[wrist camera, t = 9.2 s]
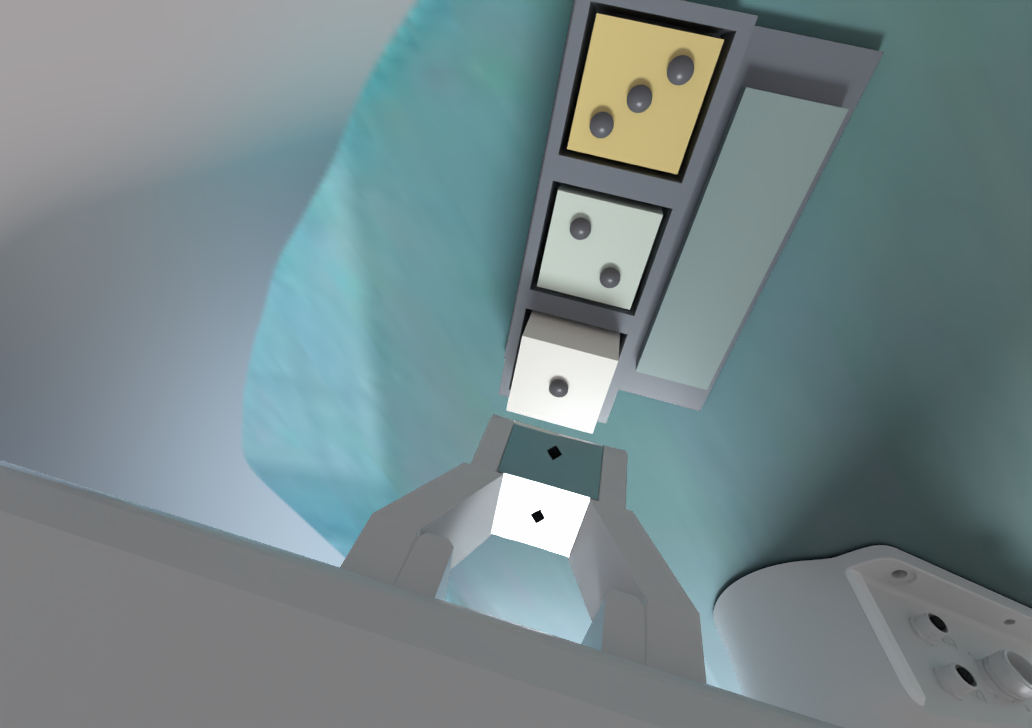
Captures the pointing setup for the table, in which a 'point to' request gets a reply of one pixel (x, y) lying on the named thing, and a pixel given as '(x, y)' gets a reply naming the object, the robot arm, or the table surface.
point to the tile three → (641, 92)
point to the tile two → (598, 245)
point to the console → (698, 193)
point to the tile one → (563, 371)
